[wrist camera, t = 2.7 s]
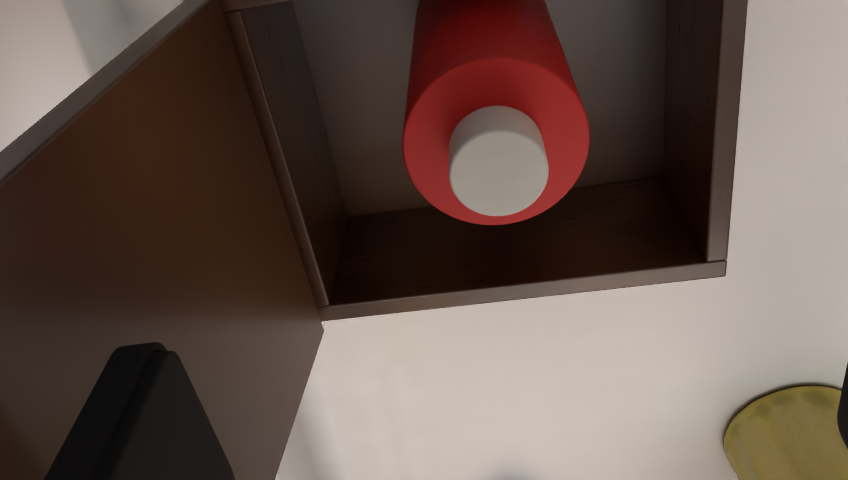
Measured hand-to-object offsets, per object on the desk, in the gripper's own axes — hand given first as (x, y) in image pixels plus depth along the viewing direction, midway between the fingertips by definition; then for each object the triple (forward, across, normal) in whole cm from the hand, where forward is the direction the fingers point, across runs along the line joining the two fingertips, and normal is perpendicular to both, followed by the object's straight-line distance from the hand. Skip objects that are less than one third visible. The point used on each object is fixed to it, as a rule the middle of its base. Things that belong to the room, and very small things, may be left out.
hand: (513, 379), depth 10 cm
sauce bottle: (+15, 0, 0) cm, 15 cm away
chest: (+15, 0, +1) cm, 15 cm away
